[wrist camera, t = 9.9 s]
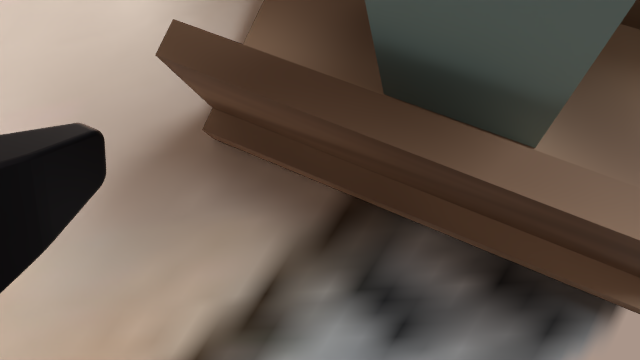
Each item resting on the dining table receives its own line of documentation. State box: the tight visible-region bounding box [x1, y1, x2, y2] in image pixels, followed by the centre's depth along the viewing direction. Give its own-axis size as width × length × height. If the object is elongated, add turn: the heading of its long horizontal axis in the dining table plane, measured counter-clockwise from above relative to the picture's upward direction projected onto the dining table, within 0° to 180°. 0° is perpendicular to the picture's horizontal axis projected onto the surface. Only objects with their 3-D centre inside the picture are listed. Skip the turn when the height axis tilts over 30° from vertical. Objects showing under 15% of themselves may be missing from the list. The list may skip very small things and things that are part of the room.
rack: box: [156, 0, 640, 314], centre depth 16 cm, size 9×14×5 cm, turn 66°
